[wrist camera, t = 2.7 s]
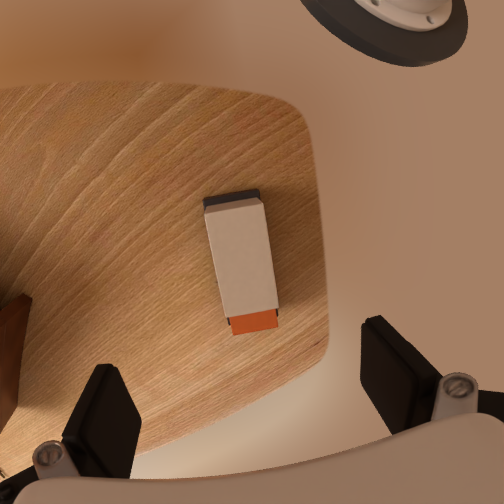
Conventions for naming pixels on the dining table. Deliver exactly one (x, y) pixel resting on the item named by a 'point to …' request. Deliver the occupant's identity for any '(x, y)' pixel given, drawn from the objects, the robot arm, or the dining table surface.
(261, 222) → the tricolour layered block
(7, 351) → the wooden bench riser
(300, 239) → the dining table surface
